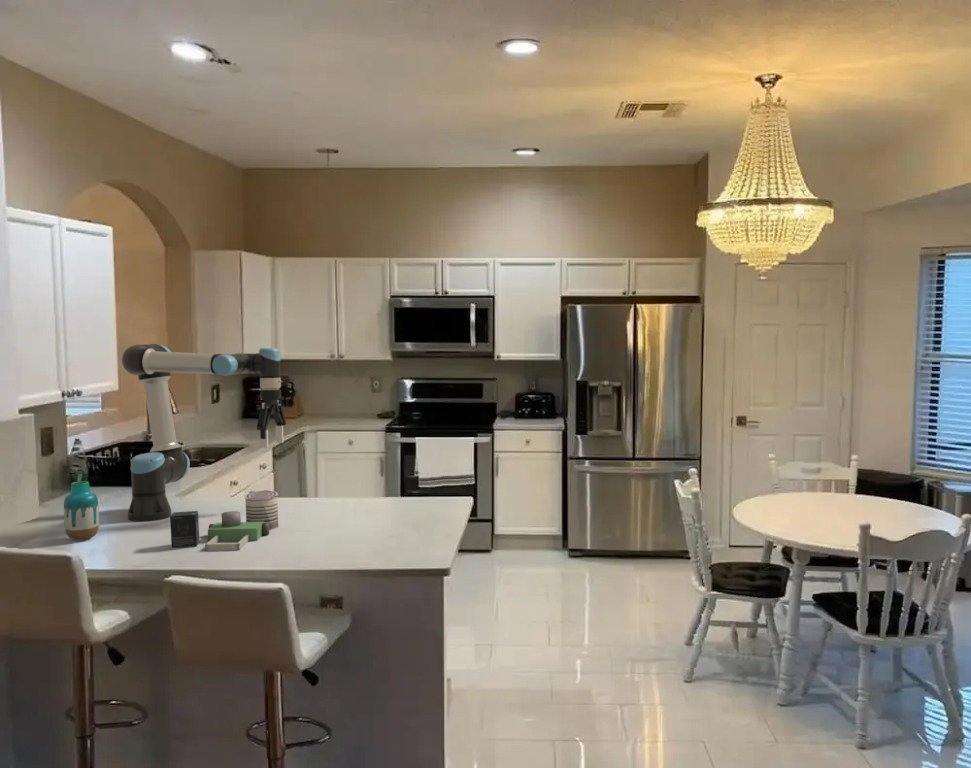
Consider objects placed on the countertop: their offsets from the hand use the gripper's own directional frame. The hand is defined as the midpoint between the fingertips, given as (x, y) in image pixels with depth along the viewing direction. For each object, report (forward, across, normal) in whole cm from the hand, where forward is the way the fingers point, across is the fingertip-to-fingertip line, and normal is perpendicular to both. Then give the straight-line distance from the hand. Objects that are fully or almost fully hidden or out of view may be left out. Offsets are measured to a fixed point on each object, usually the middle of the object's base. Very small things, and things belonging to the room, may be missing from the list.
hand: (272, 445), depth 316 cm
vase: (+26, -47, +47) cm, 71 cm away
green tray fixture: (+26, -45, -6) cm, 52 cm away
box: (+26, -50, +8) cm, 57 cm away
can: (+26, -24, -6) cm, 36 cm away
